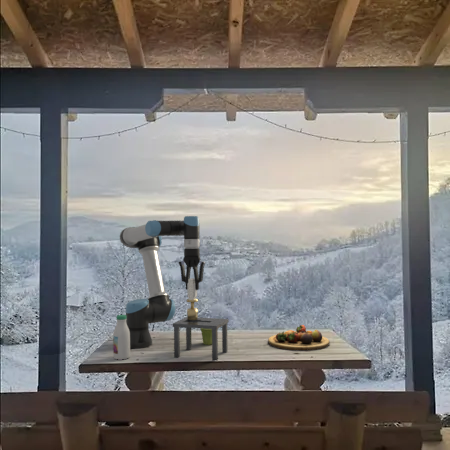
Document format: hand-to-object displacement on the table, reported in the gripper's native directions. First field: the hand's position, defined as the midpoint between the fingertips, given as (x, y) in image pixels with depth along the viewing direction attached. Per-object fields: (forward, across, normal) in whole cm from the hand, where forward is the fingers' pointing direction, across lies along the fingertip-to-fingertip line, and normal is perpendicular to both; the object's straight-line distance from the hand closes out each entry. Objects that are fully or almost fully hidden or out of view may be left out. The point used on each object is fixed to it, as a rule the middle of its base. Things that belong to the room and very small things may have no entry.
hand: (192, 296), depth 238 cm
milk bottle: (+28, -30, -16) cm, 44 cm away
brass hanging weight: (+11, 0, 0) cm, 11 cm away
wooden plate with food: (+29, +45, +36) cm, 65 cm away
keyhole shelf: (+28, +4, 0) cm, 28 cm away
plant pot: (+28, 0, +22) cm, 36 cm away
